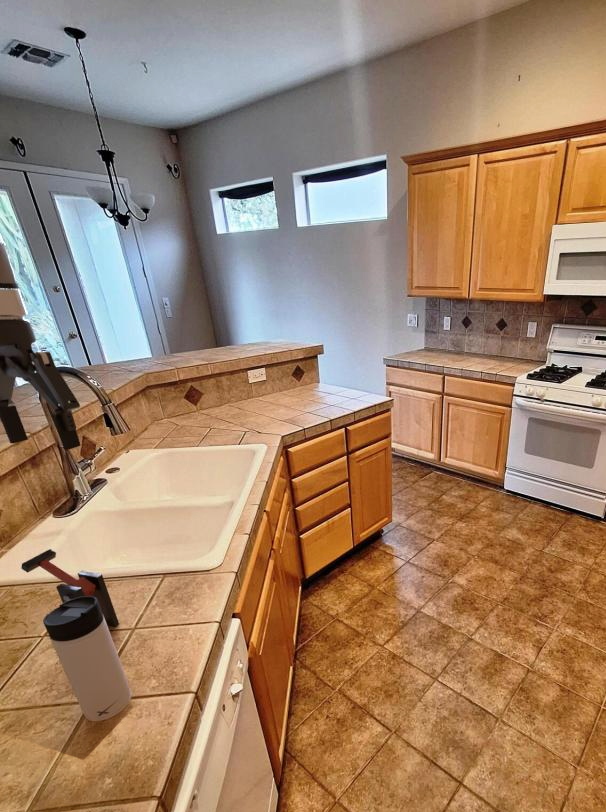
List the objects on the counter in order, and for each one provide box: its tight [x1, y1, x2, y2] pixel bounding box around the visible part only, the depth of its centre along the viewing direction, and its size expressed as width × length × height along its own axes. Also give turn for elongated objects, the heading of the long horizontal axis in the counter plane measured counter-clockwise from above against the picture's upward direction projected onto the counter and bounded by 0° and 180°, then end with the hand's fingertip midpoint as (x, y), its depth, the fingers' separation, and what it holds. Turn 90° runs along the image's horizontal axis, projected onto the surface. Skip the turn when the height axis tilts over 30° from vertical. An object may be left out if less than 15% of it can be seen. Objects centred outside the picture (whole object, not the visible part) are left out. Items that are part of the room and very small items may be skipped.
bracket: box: [55, 570, 120, 628], centre depth 77 cm, size 12×9×13 cm
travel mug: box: [42, 596, 133, 722], centre depth 62 cm, size 6×7×20 cm
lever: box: [20, 548, 96, 596], centre depth 75 cm, size 11×5×2 cm, turn 74°
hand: (45, 444), depth 79 cm, fingers open, 12 cm apart
